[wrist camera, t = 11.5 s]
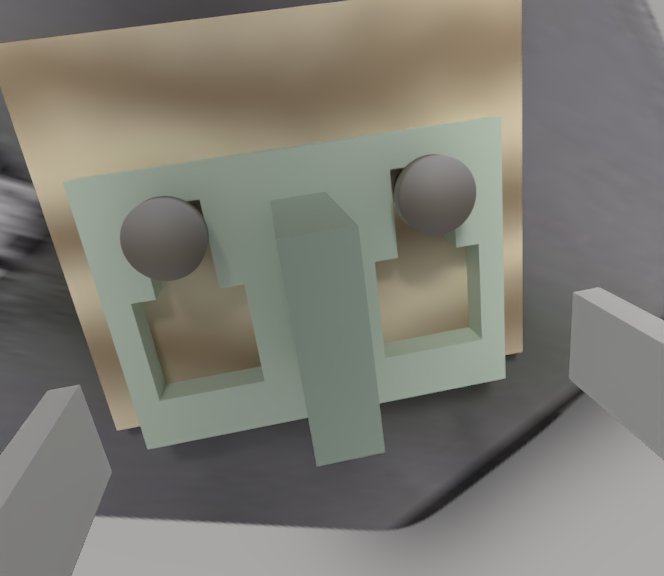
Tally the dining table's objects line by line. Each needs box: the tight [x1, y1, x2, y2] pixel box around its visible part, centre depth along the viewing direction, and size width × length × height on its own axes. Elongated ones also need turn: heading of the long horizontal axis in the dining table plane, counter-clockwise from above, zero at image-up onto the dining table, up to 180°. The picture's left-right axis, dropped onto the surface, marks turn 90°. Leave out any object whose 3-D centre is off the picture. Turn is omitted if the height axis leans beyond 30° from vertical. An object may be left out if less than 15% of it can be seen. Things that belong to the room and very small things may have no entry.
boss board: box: [0, 0, 523, 431], centre depth 22 cm, size 18×22×5 cm
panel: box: [63, 117, 505, 467], centre depth 20 cm, size 13×18×9 cm
